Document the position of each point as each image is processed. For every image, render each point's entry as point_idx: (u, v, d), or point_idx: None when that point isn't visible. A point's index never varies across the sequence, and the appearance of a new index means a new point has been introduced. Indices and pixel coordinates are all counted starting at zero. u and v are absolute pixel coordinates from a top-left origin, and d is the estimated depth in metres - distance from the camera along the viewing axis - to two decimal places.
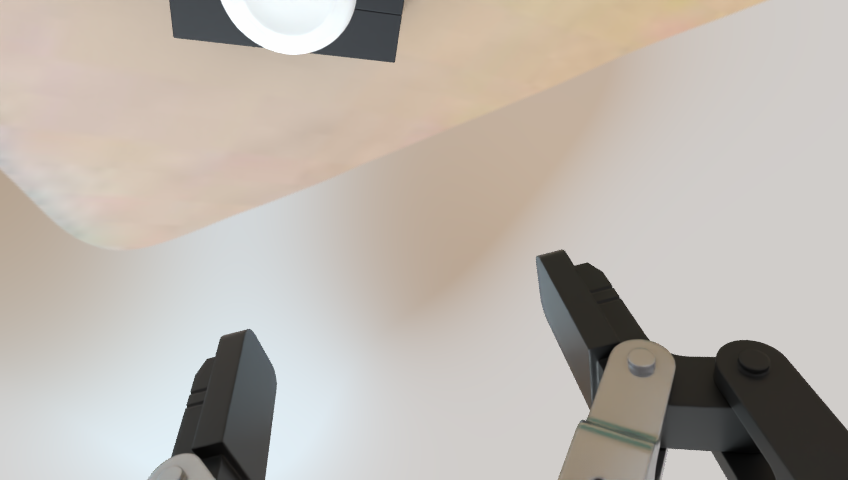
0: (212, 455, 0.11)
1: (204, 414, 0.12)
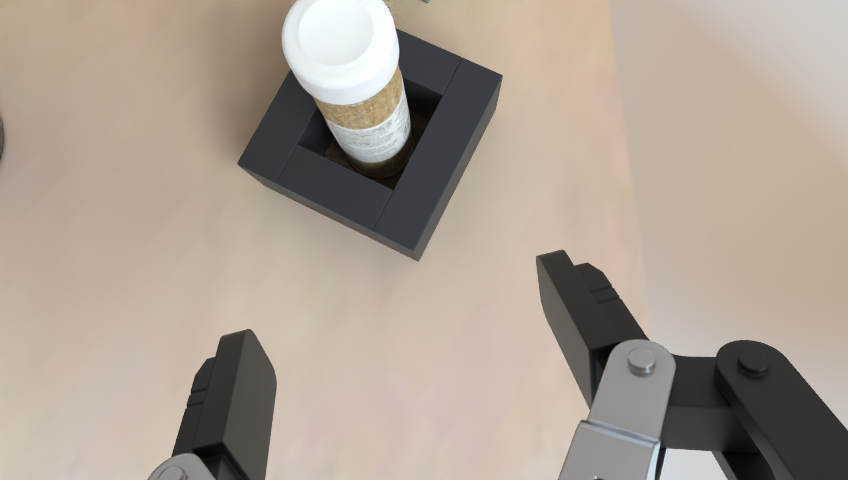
0: (212, 455, 0.11)
1: (204, 414, 0.12)
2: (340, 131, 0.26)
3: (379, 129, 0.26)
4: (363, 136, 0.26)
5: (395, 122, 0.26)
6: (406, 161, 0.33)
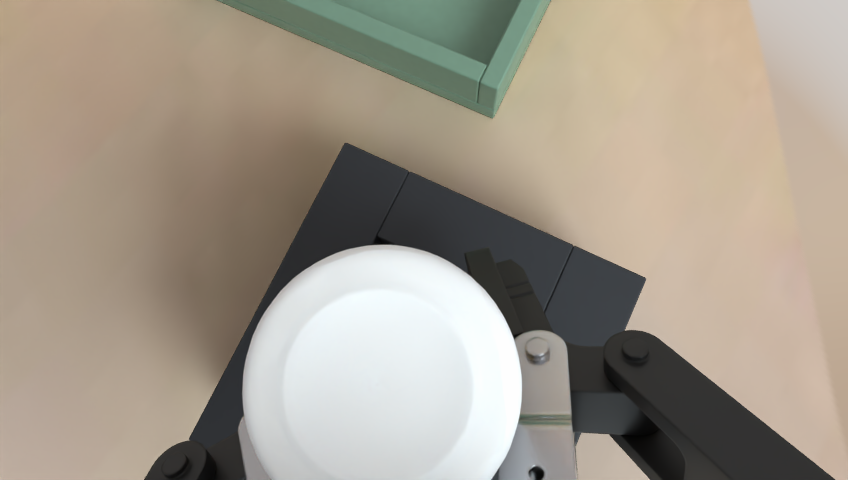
0: None
1: None
2: None
3: None
4: None
5: None
6: None
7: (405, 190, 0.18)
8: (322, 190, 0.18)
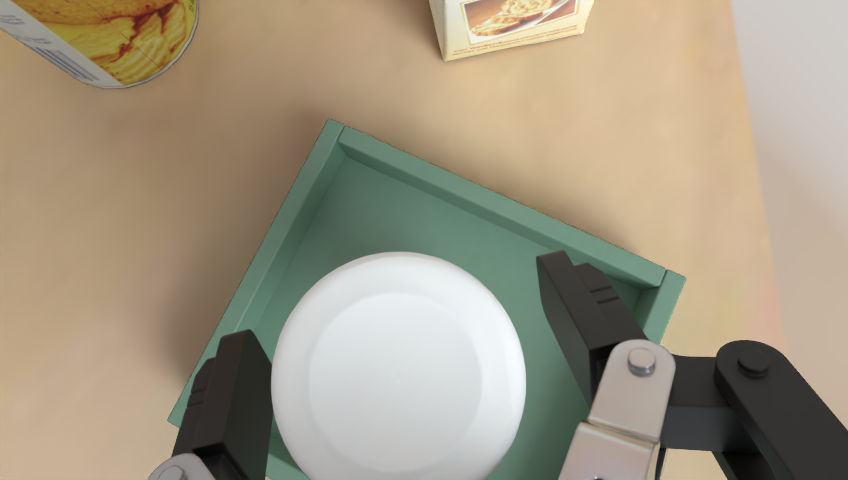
0: (212, 455, 0.11)
1: (204, 414, 0.12)
2: None
3: None
4: None
5: None
6: None
7: None
8: None
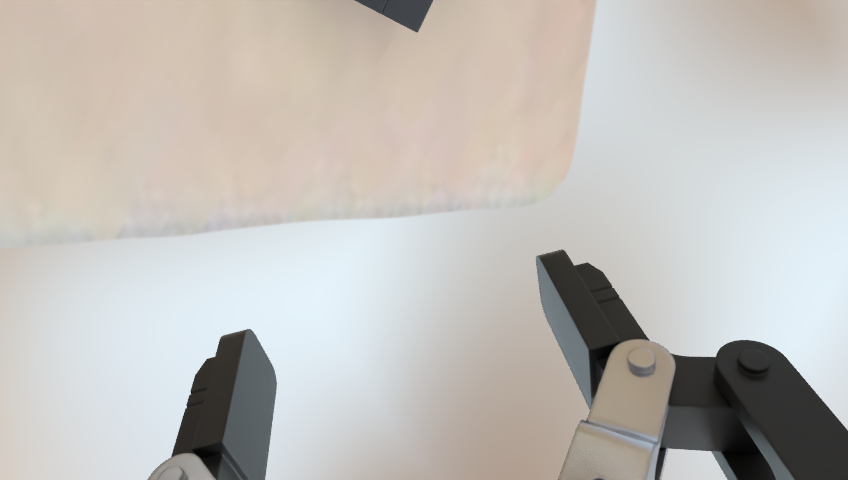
0: (212, 455, 0.11)
1: (204, 414, 0.12)
2: None
3: None
4: None
5: None
6: None
7: None
8: None
